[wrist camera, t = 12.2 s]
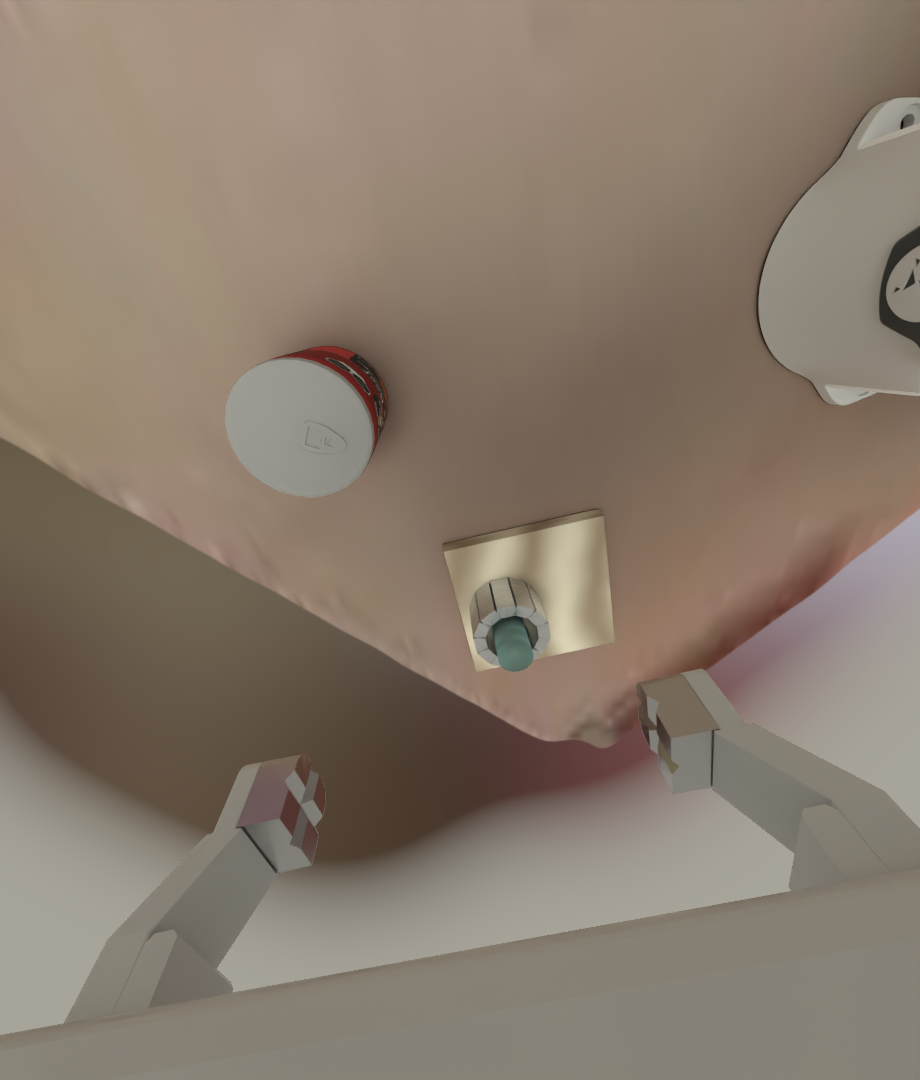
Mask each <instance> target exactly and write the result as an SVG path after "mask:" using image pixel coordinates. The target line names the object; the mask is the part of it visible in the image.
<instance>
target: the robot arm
mask: <svg viewBox="0 0 920 1080" xmlns="http://www.w3.org/2000/svg"><path fill="white" fill-rule="evenodd" d="M902 120H903V122H904V125H903V128H902V129H900V124H901V121H902ZM758 307H759V320H760V326H761V330H762V334H763V336H764V339H765V342H766V344H767V346H768V348H769V349H770V351H771V353H772V354H773V355H774V357H775V358H776V359H777V360H778V361H779V362H780V363H781V364H782V365H783V366H785V367H786V368H788V369H789V370H791V371H793V372H795V373H797V374H799V375H801V376H803V377H805V378H807V379H809V380H810V381H811V382H812V383H813V384H814V386H815V388H816V389H817V391H818V393H819V394H820V396H821V397H822V398H823V400H824V401H825V402H827V403H828V404H831V405H841V406H844V405H848V404H851V403H854V402H856V401H858V400H861V399H863V398H866V397H868V396H870V395H873V394H875V393H878V392H880V393H891V394H901V395H911V396H920V97H903V98H895V99H892V100H888V101H885V102H882V103H880V104H878V105H876V106H875V107H873V108H872V109H871V110H870V111H869V112H868V114H867V115H866V116H865V117H864V119H863V120H862V121H861V123H860V125H859V126H858V128H857V129H856V131H855V133H854V134H853V136H852V138H851V139H850V141H849V143H848V145H847V146H846V148H845V150H844V152H843V154H842V155H841V157H840V158H839V159H838V161H837V162H836V163H835V164H834V165H833V166H832V167H831V168H830V170H829V171H828V172H827V173H826V174H824V175H823V176H822V177H821V178H820V179H819V180H818V181H817V182H816V183H815V184H814V185H813V186H812V187H811V188H810V189H809V190H808V191H807V192H806V194H805V195H804V196H803V197H802V198H801V199H800V201H799V202H798V203H797V204H796V206H795V207H794V208H793V210H792V211H791V213H790V214H789V216H788V217H787V218H786V220H785V222H784V223H783V225H782V227H781V228H780V230H779V232H778V234H777V236H776V238H775V240H774V242H773V244H772V247H771V249H770V252H769V254H768V257H767V260H766V263H765V266H764V270H763V273H762V278H761V283H760V289H759V303H758ZM636 693H637V696H638V698H639V700H640V702H641V704H640V706H639V707H638V715H639V721H640V724H641V728H642V731H643V734H644V736H645V739H646V741H647V743H648V745H649V747H650V749H651V750H653V751H654V752H656V753H657V754H658V757H659V767H660V769H661V771H662V773H663V775H664V777H665V779H666V781H667V783H668V785H669V787H670V789H671V791H672V793H673V794H675V793H682V792H688V791H693V790H699V789H705V788H711V787H712V789H713V790H714V791H715V792H716V793H717V794H719V795H720V796H721V797H723V798H724V799H725V800H727V801H728V802H729V803H730V804H732V805H733V806H734V807H735V808H737V809H738V810H739V811H741V812H742V813H743V814H744V815H746V816H747V817H748V818H750V819H751V820H752V821H753V822H755V823H756V824H757V825H759V826H760V827H761V828H762V829H764V830H765V831H766V832H767V833H769V834H770V835H771V836H773V837H774V838H775V839H777V840H778V841H779V842H780V843H782V844H783V845H784V846H786V847H787V848H788V849H789V850H791V851H792V852H793V853H794V854H795V855H794V860H793V866H792V871H791V876H790V882H789V888H790V890H791V891H789V892H783V893H778V894H772V895H767V896H762V897H757V898H751V899H745V900H740V901H734V902H729V903H723V904H718V905H712V906H707V907H701V908H696V909H691V910H685V911H679V912H674V913H668V914H662V915H658V916H652V917H646V918H640V919H635V920H630V921H624V922H619V923H613V924H607V925H602V926H596V927H591V928H586V929H580V930H574V931H569V932H563V933H558V934H553V935H547V936H541V937H536V938H530V939H525V940H519V941H514V942H508V943H502V944H497V945H492V946H486V947H481V948H475V949H470V950H464V951H459V952H453V953H448V954H442V955H437V956H431V957H426V958H420V959H415V960H409V961H404V962H398V963H393V964H387V965H382V966H376V967H372V968H365V969H360V970H354V971H349V972H343V973H338V974H333V975H328V976H321V977H317V978H310V979H305V980H300V981H294V982H289V983H283V984H277V985H272V986H267V987H261V988H256V989H250V990H245V991H239V992H234V993H232V991H233V987H232V984H231V982H230V981H229V980H228V979H227V978H226V977H225V976H224V975H222V974H221V973H220V972H219V971H218V970H217V967H218V966H219V964H220V963H221V961H222V959H223V958H224V956H225V955H226V953H227V952H228V950H229V949H230V947H231V946H232V944H233V943H234V941H235V940H236V938H237V936H238V935H239V934H240V932H241V930H242V929H243V927H244V926H245V924H246V923H247V921H248V920H249V918H250V916H251V915H252V914H253V912H254V911H255V909H256V907H257V906H258V904H259V903H260V901H261V900H262V898H263V897H264V895H265V894H266V892H267V891H268V889H269V888H270V886H271V885H272V883H273V881H274V880H275V878H276V877H277V874H276V873H280V872H284V871H289V870H293V869H297V868H302V867H306V866H310V865H312V863H313V859H314V854H315V850H316V845H317V841H318V836H319V835H318V833H317V831H316V829H315V825H316V824H317V823H318V822H319V820H320V819H321V818H322V816H323V813H324V808H325V788H324V784H323V781H322V779H321V778H320V776H319V775H318V774H316V773H314V772H312V771H310V769H311V766H312V762H311V761H310V759H309V758H308V756H307V755H298V756H293V757H287V758H282V759H277V760H271V761H265V762H261V763H256V764H251V765H246V766H244V767H243V768H242V770H240V772H239V774H238V776H237V778H236V781H235V783H234V785H233V788H232V790H231V792H230V795H229V797H228V799H227V802H226V804H225V806H224V809H223V811H222V813H221V816H220V818H219V820H218V823H217V825H216V828H215V830H214V832H213V834H209V835H206V836H205V838H203V840H202V841H201V842H200V843H199V844H198V845H197V846H196V847H195V848H194V849H193V850H192V851H191V852H190V853H189V854H188V855H187V856H186V858H185V859H184V860H183V861H182V862H181V863H180V864H179V865H178V866H177V867H176V868H175V869H174V870H173V871H172V872H171V873H170V874H169V876H167V878H166V879H165V880H164V881H163V882H162V883H161V884H160V885H159V886H158V887H157V888H156V889H155V890H154V891H153V892H152V893H151V894H150V896H149V897H148V898H147V899H146V900H145V901H144V902H143V903H142V904H141V905H140V906H139V907H138V908H137V909H136V910H135V911H134V912H133V913H132V914H131V916H130V917H129V918H128V919H127V920H126V921H125V922H124V923H123V924H122V925H121V926H120V927H119V928H118V929H117V930H116V931H115V932H114V933H113V934H112V936H111V937H110V938H109V939H108V940H107V942H106V943H105V945H104V947H103V949H102V951H101V953H100V955H99V957H98V959H97V961H96V963H95V965H94V967H93V969H92V970H91V972H90V974H89V976H88V978H87V980H86V982H85V984H84V986H83V988H82V990H81V992H80V993H79V995H78V997H77V999H76V1001H75V1003H74V1005H73V1007H72V1009H71V1011H70V1013H69V1014H68V1016H67V1018H66V1020H65V1022H64V1024H58V1025H53V1026H47V1027H42V1028H37V1029H31V1030H26V1031H20V1032H14V1033H9V1034H3V1035H0V1080H920V828H919V827H918V826H917V825H916V824H915V823H914V822H913V821H912V820H911V819H910V818H909V817H908V816H907V815H906V813H905V812H904V811H903V810H902V809H901V808H900V807H899V806H898V805H897V804H896V803H895V802H894V801H893V800H892V799H891V798H890V796H889V795H888V794H887V793H886V792H885V791H883V790H881V789H879V788H877V787H875V786H874V785H872V784H870V783H868V782H866V781H864V780H862V779H860V778H858V777H856V776H854V775H852V774H850V773H848V772H847V771H845V770H843V769H841V768H839V767H837V766H835V765H833V764H831V763H829V762H827V761H825V760H823V759H821V758H819V757H818V756H816V755H814V754H812V753H810V752H808V751H806V750H804V749H802V748H800V747H798V746H796V745H795V744H792V743H791V742H789V741H787V740H785V739H783V738H781V737H779V736H777V735H775V734H773V733H771V732H769V731H768V730H766V729H764V728H762V727H760V726H758V725H756V724H754V723H752V724H746V723H745V722H744V720H743V719H742V718H741V717H740V715H739V714H738V713H737V711H736V710H735V709H734V707H733V706H732V705H731V703H730V702H729V701H728V700H727V699H726V697H725V696H724V694H723V693H722V692H721V690H720V689H719V688H718V687H717V685H716V684H715V683H714V681H713V680H712V679H711V677H710V676H709V675H708V674H707V672H706V671H704V670H703V669H698V670H694V671H689V672H684V673H680V674H674V675H670V676H665V677H661V678H656V679H652V680H647V681H643V682H639V683H637V685H636Z"/></svg>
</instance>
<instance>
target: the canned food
mask: <svg viewBox="0 0 920 1080" xmlns="http://www.w3.org/2000/svg"><path fill="white" fill-rule="evenodd" d="M387 411H388V401H387V395H386V391H385V387H384V385H383V383H382V381H381V379H380V377H379V376H378V374H377V373H376V371H375V370H374V369H373V368H372V367H371V366H370V365H369V364H368V363H367V362H366V361H365V360H364V359H362V358H361V357H359V356H358V355H356V354H355V353H352V352H350V351H348V350H346V349H342V348H338V347H330V346H321V347H315V348H310V349H306V350H303V351H299V352H295V353H291V354H287V355H284V356H280V357H276V358H274V359H271V360H268V361H265V362H263V363H261V364H258V365H256V366H255V367H253V368H252V369H251V370H249V371H248V372H246V373H245V374H244V375H242V377H241V378H240V379H239V380H238V381H237V382H236V384H235V385H234V386H233V388H232V390H231V392H230V394H229V396H228V399H227V404H226V408H225V427H226V432H227V436H228V439H229V442H230V444H231V446H232V449H233V451H234V453H235V454H236V456H237V457H238V459H239V460H240V462H241V463H242V464H243V465H244V466H245V468H246V469H247V470H248V471H249V472H250V473H251V474H252V475H253V476H255V477H256V478H257V479H259V480H260V481H261V482H262V483H264V484H266V485H268V486H270V487H271V488H273V489H275V490H278V491H280V492H283V493H286V494H289V495H294V496H299V497H320V496H326V495H330V494H333V493H336V492H338V491H341V490H342V489H344V488H346V487H347V486H349V485H351V484H352V483H353V482H354V481H355V480H356V479H357V478H358V477H359V476H360V475H361V474H362V472H363V471H364V469H365V468H366V466H367V465H368V463H369V461H370V459H371V457H372V454H373V452H374V449H375V447H376V444H377V442H378V439H379V436H380V434H381V431H382V429H383V426H384V423H385V421H386V418H387Z"/></svg>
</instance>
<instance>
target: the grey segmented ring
mask: <svg viewBox="0 0 920 1080" xmlns="http://www.w3.org/2000/svg"><path fill="white" fill-rule="evenodd" d="M490 582H491V583H489V582H487V583H485V584H484V585H483V586H481V587H480V588H479V589H478V590H476V593H474V595H473V598H472V600H471V603H470V605H469V611H470V618H471V626H472V633H473V640H474V644H475V647H476V651H477V652H478V655H479V656H481V657H482V658H483V659H484V660H485V661H487V662H488V663H489V664H490V663H491V665H495V666H500V664H499V661H498V656H497V651H496V646H495V641H494V636H493V631H492V625H493V624H494V623H496V622H497V621H498V620H500V619H502V618H506V617H511V616H519V617H523V618H522V619H523V622H524V625H525V628H526V632H527V635H528V638H529V642H530V645H531V648H532V651H533V660H535V659H536V658H537V657H539V656H540V655H542V652H544V651H545V649H546V647H547V645H548V643H549V641H550V637H551V635H550V629H549V623H548V620H547V618H546V615H545V612H544V610H543V607H542V605H541V602H540V599H539V597H538V594H537V592H536V591H535V590H534V589H533V588H532V587H531V586H530V585H529V584H528V583H527V582H525V581H524V580H520V579H516V578H512V577H508V580H507V577H503V578H498V579H494V580H490ZM500 667H501V666H500Z"/></svg>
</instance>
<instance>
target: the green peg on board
mask: <svg viewBox="0 0 920 1080" xmlns="http://www.w3.org/2000/svg"><path fill="white" fill-rule="evenodd" d="M443 549H444V555H445V559H446V562H447V566H448V570H449V573H450V577H451V581H452V584H453V588H454V592H455V595H456V599H457V603H458V606H459V610H460V614H461V617H462V621H463V625H464V628H465V632H466V636H467V639H468V643H469V647H470V650H471V654H472V658H473V661H474V665H475V669H476V672H477V671H482V670H487V669H491V668H496V667H500V666H501V667H502V668H504V669H505V670H508V671H513V672H515V671H521V670H523V669H525V668H527V667H528V666H529V665H530V664H531V663H532V661H533V651H532V648H531V645H530V642H529V638H528V635H527V632H526V628H525V625H524V622H523V619H522V618H523V617H519V616H511V617H506V618H502V619H500V620H498V621H497V622H496V623H494V624H493V625H492V631H493V636H494V641H495V646H496V651H497V656H498V661H499V664H500V666H495V665H491V663H490V664H489V663H488V662H487V661H485V660H484V659H483V658H482V657H481V656H479V655H478V652H477V651H476V647H475V644H474V640H473V633H472V626H471V618H470V611H469V605H470V603H471V600H472V598H473V595H474V593H476V590H478V589H479V588H480V587H481V586H483V585H484V584H485V583H487V582H489V583H491V582H490V580H494V579H498V578H503V577H507V580H508V577H512V578H516V579H520V580H524V581H525V582H527V583H528V584H529V585H530V586H531V587H532V588H533V589H534V590H535V591H536V592H537V594H538V597H539V599H540V602H541V605H542V607H543V610H544V612H545V615H546V618H547V620H548V623H549V629H550V635H551V637H550V641H549V643H548V645H547V647H546V649H545V651H544V652H542V655H540V656H539V657H537V658H536V659H538V658H543V657H548V656H552V655H557V654H562V653H566V652H571V651H576V650H580V649H585V648H590V647H595V646H599V645H604V644H609V643H613V642H615V640H614V628H613V617H612V605H611V594H610V582H609V570H608V559H607V547H606V536H605V524H604V515H603V514H602V513H601V512H600V511H599V510H598V509H596V510H591V511H587V512H582V513H578V514H574V515H569V516H565V517H560V518H556V519H552V520H547V521H543V522H538V523H534V524H530V525H525V526H521V527H516V528H512V529H508V530H503V531H499V532H494V533H490V534H486V535H481V536H477V537H472V538H468V539H464V540H459V541H455V542H450V543H446V544H443Z"/></svg>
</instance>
